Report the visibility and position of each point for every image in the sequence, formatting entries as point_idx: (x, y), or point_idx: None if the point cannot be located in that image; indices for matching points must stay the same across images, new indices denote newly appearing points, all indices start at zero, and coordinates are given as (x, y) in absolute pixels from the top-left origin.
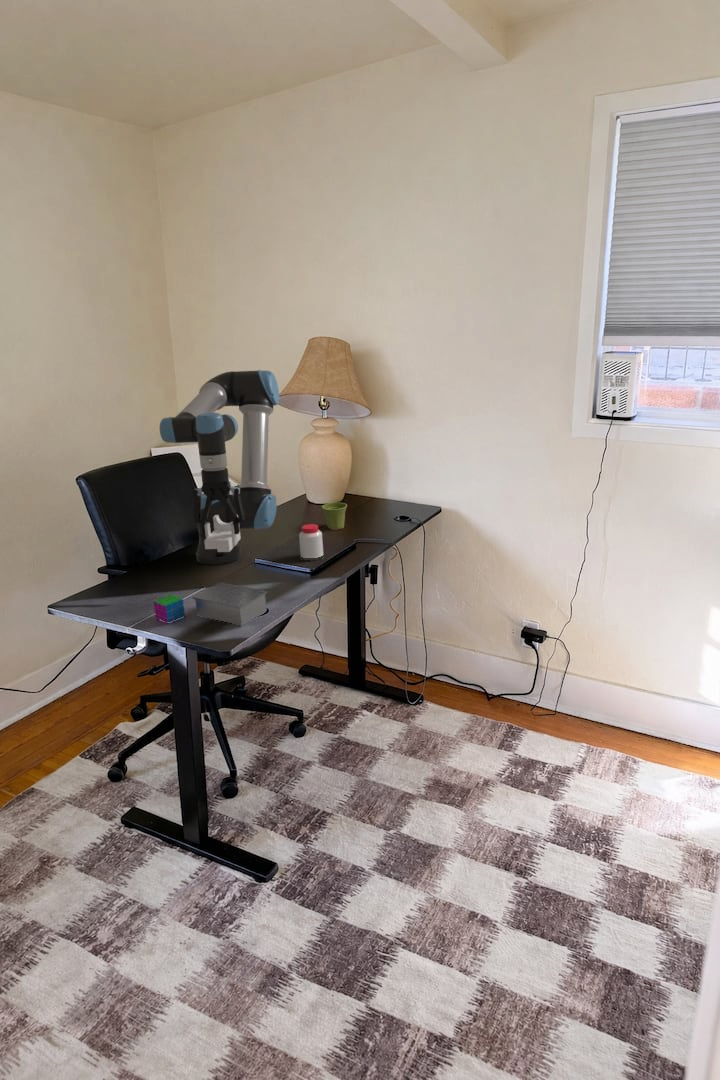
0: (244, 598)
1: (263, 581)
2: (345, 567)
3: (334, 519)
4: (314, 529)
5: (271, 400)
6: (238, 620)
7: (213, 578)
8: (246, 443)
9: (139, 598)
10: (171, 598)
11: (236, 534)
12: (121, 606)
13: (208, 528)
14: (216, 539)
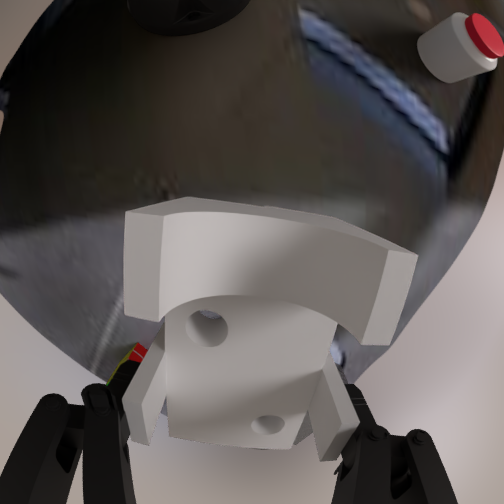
0: (306, 420)
1: (342, 184)
2: (496, 153)
3: None
4: (500, 56)
5: None
6: None
7: (186, 131)
8: None
9: (47, 250)
10: None
11: (334, 370)
12: (37, 285)
13: (154, 409)
14: (227, 437)
